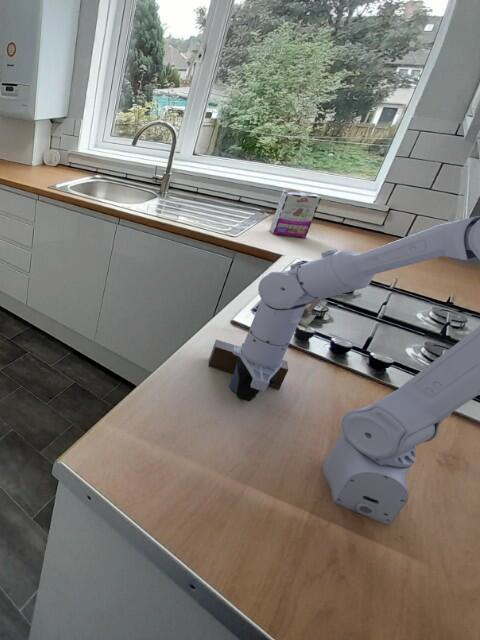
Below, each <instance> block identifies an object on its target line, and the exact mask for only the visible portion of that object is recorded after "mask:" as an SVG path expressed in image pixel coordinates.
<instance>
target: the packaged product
mask: <svg viewBox="0 0 480 640" xmlns="http://www.w3.org/2000/svg"><path fill="white" fill-rule="evenodd" d="M318 303H319V304H320V306H322V307H323V309H324V308H325V307H326V305H327V304H328V301H326V300H324V299H321V300H317V301H315V302H313V303H311V304H308V305H307V306H306V307H305V310H304V312H303V314H302V316H301V318H300V321H299V323H298V324H300V325H301V326H304V327H306V328H307V327H308V326H309V325H310V323H312V321H314V320H315V318H316V317H317V316H318V315H319V314H320V313H318V314H317V315H312V314H309V312H311V311H312V310H313V309H314V307H315V306H316V305H317V304H318Z"/></svg>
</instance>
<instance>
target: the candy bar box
mask: <svg viewBox="0 0 480 640" xmlns="http://www.w3.org/2000/svg"><path fill="white" fill-rule="evenodd" d="M282 192H283V193H281V195H282V196H281V195H280V198H281V199H280V198H279V200H280V202H279V201H278V205H277V207H276V210H275V213H274V215H273V219H272V222H271V224H270V227H269V232H270V233H272V234H273V235H278V236H284V237H285V236H286V237H294V238H303V239H306V237H307V235H308V232H309V230H310V228H311V225H312V223H313V221H314V218H315V216H316V213H317V210H318V208H319V205H320V202H321V200H322V196H321V195H318V194H316V193H307V192H303V193H297V192H285V191H283V190H282Z"/></svg>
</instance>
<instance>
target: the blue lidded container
mask: <svg viewBox="0 0 480 640" xmlns="http://www.w3.org/2000/svg"><path fill="white" fill-rule="evenodd" d="M243 345H244V342H242V344H241V346H240V347H243ZM231 375H232V376H231V378H230V382H229V385H228V387H229V390H231V391H232V392H234V393H236V394H237V385H238V378H239V374H238V370H237V362H236V365H235V369H234V372H233V374H231ZM257 395H258V393H257V394H256V396H255V397H254V398H253V399H255V398H257Z"/></svg>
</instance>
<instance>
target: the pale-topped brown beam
mask: <svg viewBox="0 0 480 640" xmlns="http://www.w3.org/2000/svg"><path fill="white" fill-rule="evenodd" d="M234 346H237V347H240V346H238V345H236V344H232V343H229V342H226V341H223V340H220V339H215V341H214V344H213V346H212V350H211V352H210V355H209V357H208V364H207V365H208V367H209V368H212V369H215V370H218V371H220V372H225V373H228V374H230V375H233V372H234V369H235V365H236V362H237V357H238V356H236V355H234V354H233V348H234ZM288 372H289V366H288V361H287V360H285V359H282V361H281V367H280V369H279V370H278V371H277V372H276V374H275V381H274V383H273V384H270V385H268V387H269V388H272V389H275V390H278V391H280V389H281V387H282V384H283V383H284V380H285V378H286V376H287V375H288ZM268 387H267V388H268Z"/></svg>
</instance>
